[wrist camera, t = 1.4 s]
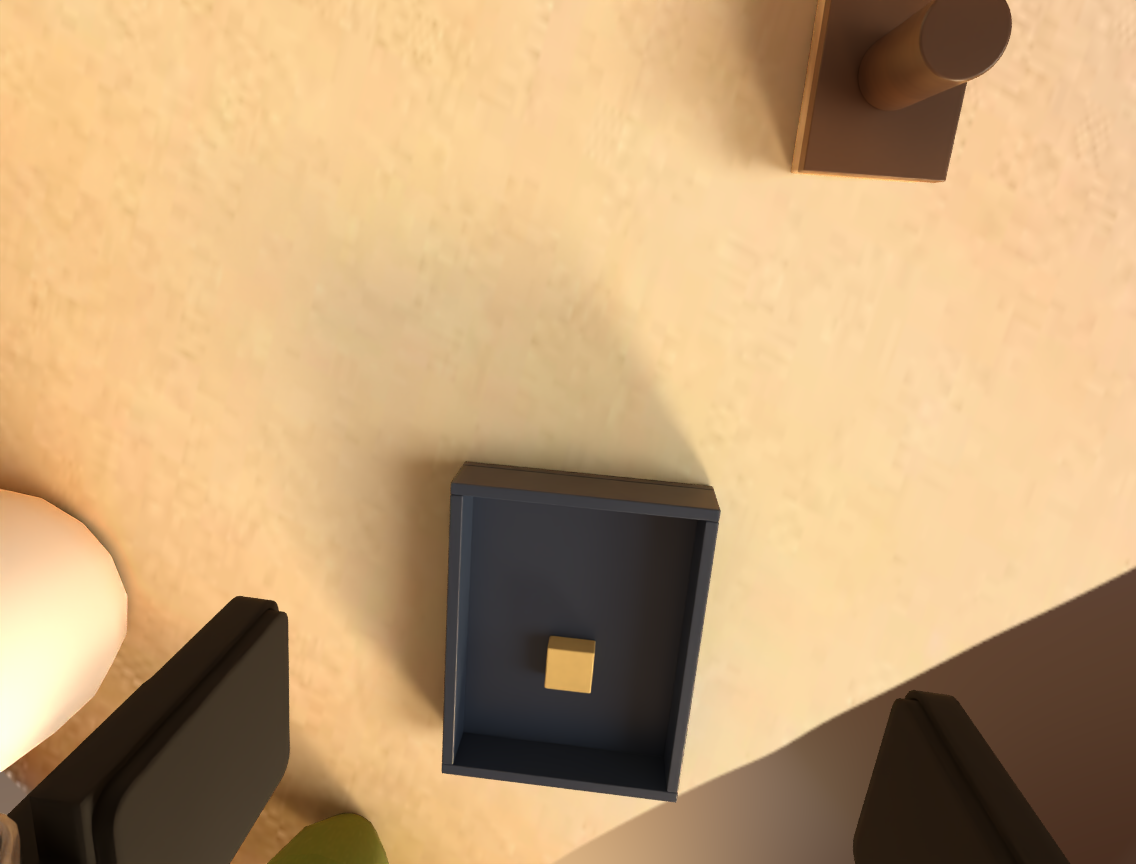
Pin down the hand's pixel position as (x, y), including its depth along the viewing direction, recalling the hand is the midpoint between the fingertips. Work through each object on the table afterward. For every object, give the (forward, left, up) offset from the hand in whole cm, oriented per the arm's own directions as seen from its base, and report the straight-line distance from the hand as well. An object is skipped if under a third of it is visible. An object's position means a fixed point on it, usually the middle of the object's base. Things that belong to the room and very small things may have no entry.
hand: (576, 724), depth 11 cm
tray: (+13, -1, -23) cm, 27 cm away
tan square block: (+15, -1, -23) cm, 27 cm away
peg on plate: (-13, +9, -23) cm, 29 cm away
